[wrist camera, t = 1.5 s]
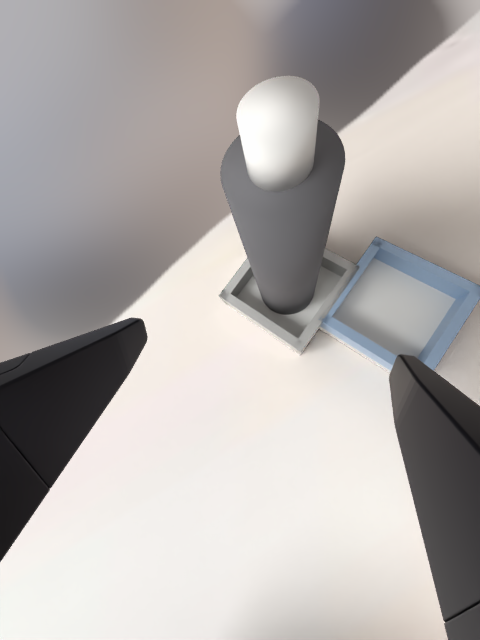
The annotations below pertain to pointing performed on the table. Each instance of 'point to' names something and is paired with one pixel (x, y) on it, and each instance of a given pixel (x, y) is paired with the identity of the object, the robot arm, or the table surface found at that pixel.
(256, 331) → the table surface
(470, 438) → the robot arm
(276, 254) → the gray bottle
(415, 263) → the divided tray
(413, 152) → the table surface
